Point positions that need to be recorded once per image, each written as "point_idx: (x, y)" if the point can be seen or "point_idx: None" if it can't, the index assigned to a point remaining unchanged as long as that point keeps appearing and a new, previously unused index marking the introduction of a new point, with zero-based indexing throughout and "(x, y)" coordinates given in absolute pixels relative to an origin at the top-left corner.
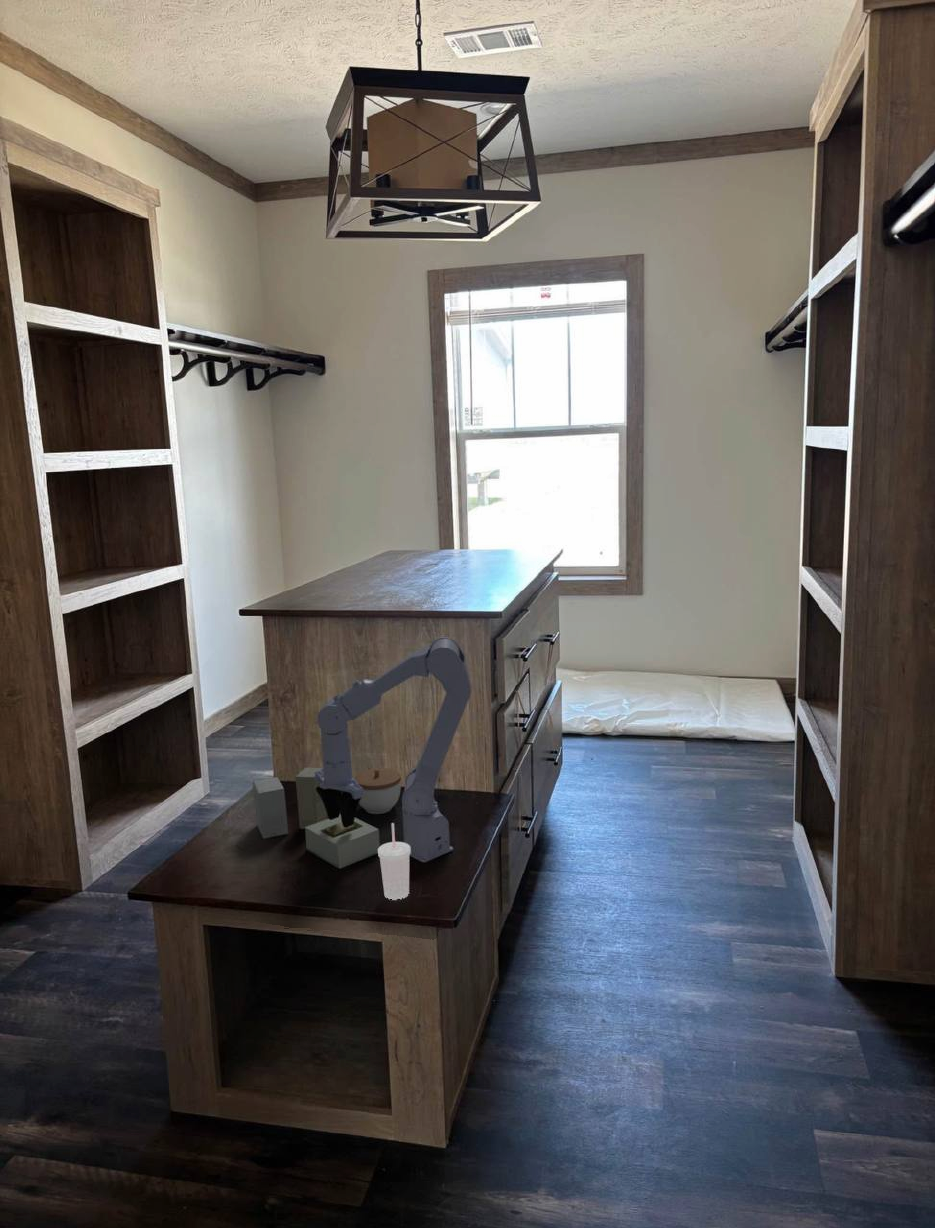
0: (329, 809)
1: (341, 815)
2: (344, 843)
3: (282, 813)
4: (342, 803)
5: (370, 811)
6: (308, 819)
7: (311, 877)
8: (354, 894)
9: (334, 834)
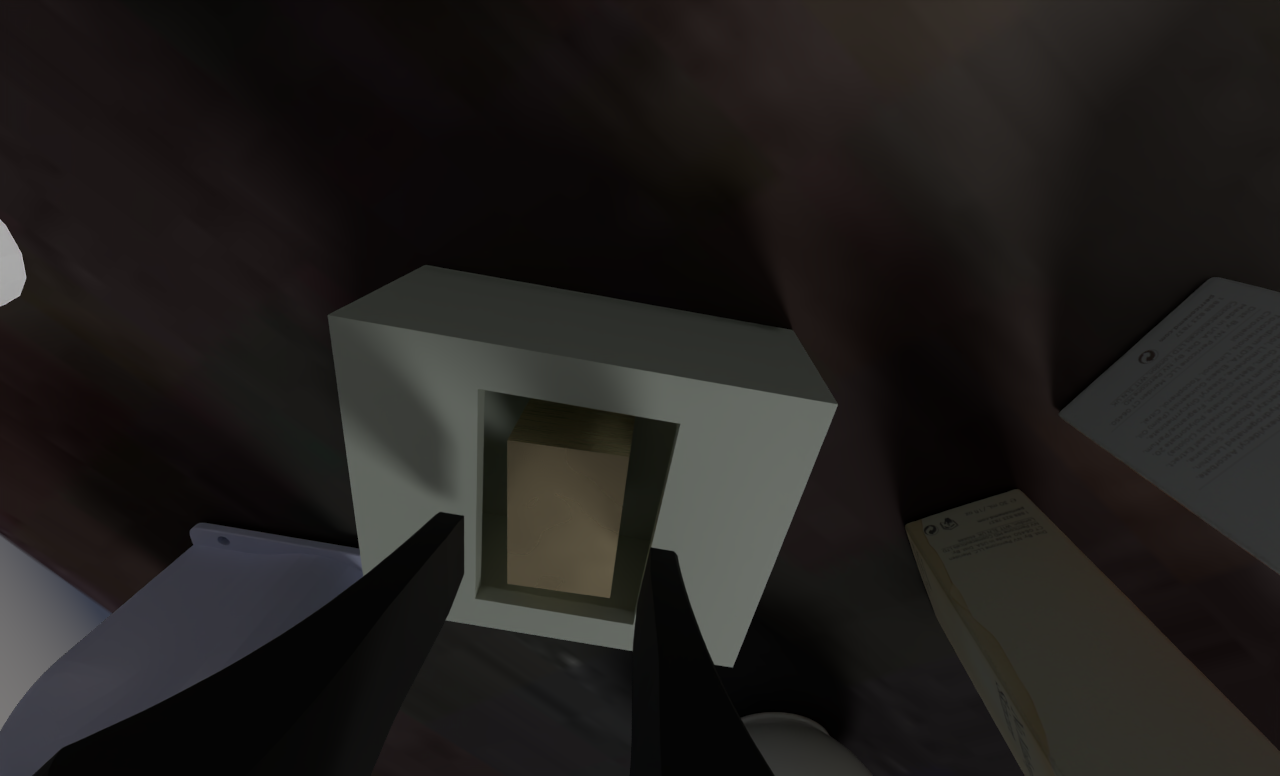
0: (651, 632)
1: (385, 590)
2: (341, 375)
3: (1223, 487)
4: (70, 749)
5: (770, 721)
6: (990, 552)
7: (459, 61)
8: (56, 72)
9: (513, 432)
